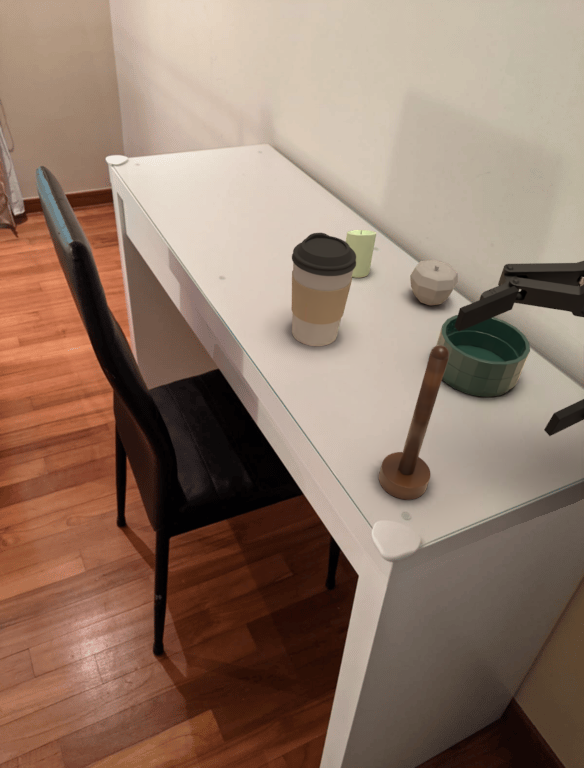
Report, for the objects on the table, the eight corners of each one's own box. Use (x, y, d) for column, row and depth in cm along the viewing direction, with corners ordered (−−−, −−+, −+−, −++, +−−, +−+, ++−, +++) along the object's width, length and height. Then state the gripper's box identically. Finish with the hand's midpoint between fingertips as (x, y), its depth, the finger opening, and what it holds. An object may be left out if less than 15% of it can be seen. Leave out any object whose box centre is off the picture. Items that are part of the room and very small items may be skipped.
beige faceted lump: (461, 304, 104) (471, 269, 99) (431, 317, 99) (440, 282, 95) (425, 283, 108) (434, 249, 104) (395, 295, 104) (403, 261, 100)
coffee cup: (353, 345, 91) (370, 255, 82) (298, 355, 88) (308, 262, 79) (329, 313, 98) (341, 226, 88) (276, 321, 95) (283, 231, 85)
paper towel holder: (435, 492, 70) (482, 358, 58) (393, 504, 68) (433, 369, 56) (411, 459, 74) (450, 327, 62) (370, 469, 72) (402, 335, 60)
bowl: (533, 389, 87) (548, 355, 83) (462, 405, 83) (475, 370, 79) (483, 341, 95) (494, 308, 92) (416, 353, 91) (425, 319, 87)
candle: (337, 265, 110) (343, 222, 105) (362, 263, 112) (370, 221, 107) (347, 279, 107) (354, 235, 102) (373, 277, 108) (381, 234, 103)
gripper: (757, 404, 58) (581, 497, 53) (576, 246, 71) (421, 308, 66) (810, 355, 52) (617, 455, 47) (600, 192, 65) (433, 256, 60)
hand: (502, 369), depth 56 cm, fingers open, 13 cm apart
